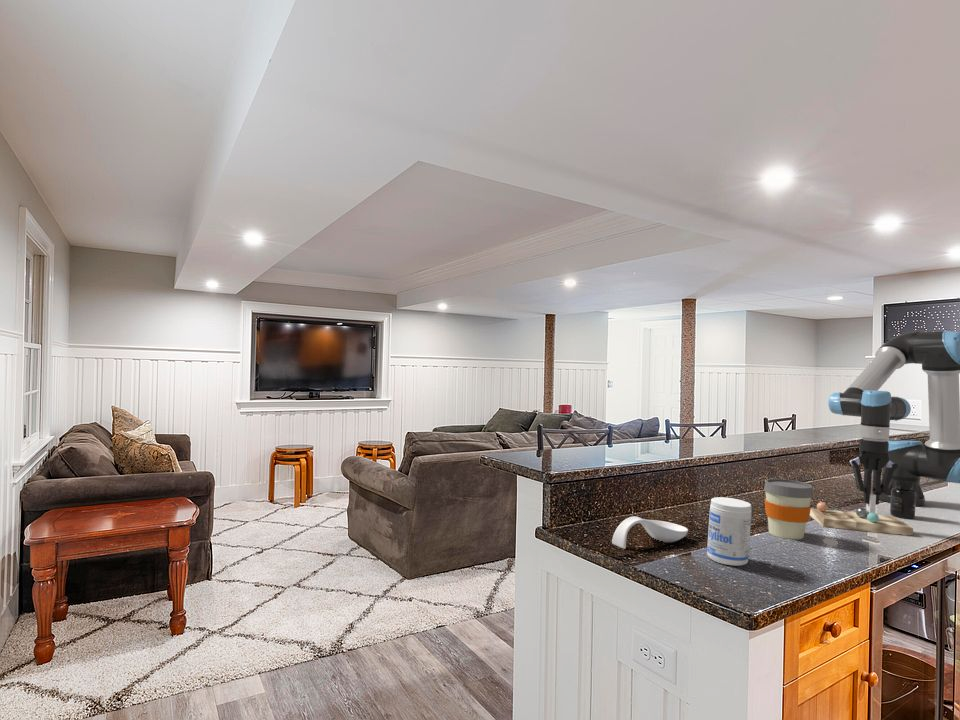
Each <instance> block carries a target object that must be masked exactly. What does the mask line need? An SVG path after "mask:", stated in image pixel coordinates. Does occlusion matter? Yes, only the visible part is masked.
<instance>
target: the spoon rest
mask: <svg viewBox="0 0 960 720" xmlns="http://www.w3.org/2000/svg"><path fill="white" fill-rule="evenodd" d="M637 524H640V525H642V528H644V530H645V531H646V532H647V534H648V535H649V536H650V537H651V538H652V539H653V538H654V539H653V540H655V539H656V540H655V541H657V540H659V541H658V542H661V541H663V542H662V543H674V542H678V541H680V540H681V539H683V538H685V537H686V535H688V532H689V529H688V527H686V526H683V525H680V524H676V523H673V522H669V521H663V520H657V519H644V518H641V517H639V516H634V515H633V516H630V517H627V518H625V519H624V520H623V521H621V522H620V524H619V525H618V526H617V527H616V529H615V531H614V533H613V535H612V540H611V544H612V545H614V546H617V547H619V548H620V549H623V550H625V549H626V548H627V537H628V533H629V531H630V529H631V528H632V527H633V526H635V525H637Z"/></svg>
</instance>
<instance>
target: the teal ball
mask: <svg viewBox="0 0 960 720" xmlns="http://www.w3.org/2000/svg"><path fill="white" fill-rule="evenodd" d="M878 515H879V514H877V513H876V512H875V513H873V512H871V513H869V514H868V515H867V519H868V520H869V521H870V522H873V523H875V522H877V521H878V520H879V516H878Z"/></svg>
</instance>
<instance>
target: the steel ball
mask: <svg viewBox="0 0 960 720" xmlns="http://www.w3.org/2000/svg"><path fill="white" fill-rule="evenodd" d="M855 513H856V514H857V516H859V517H860V518H865V517H867V515H868V511H867V510H866V507H858V508H857V509H856V511H855Z"/></svg>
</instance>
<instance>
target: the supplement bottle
mask: <svg viewBox="0 0 960 720" xmlns="http://www.w3.org/2000/svg"><path fill="white" fill-rule="evenodd" d="M895 486H896V487H895V488H893V489H892V490H891V503H890V505H889V507H890V508H889V513H890V516H893V517H895V518H900V519H906V520H913V519H915V517H916V507H917V506H916V493H915V491H913V490H912V488H913V482H910V481H904V480H896V481H895Z"/></svg>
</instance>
